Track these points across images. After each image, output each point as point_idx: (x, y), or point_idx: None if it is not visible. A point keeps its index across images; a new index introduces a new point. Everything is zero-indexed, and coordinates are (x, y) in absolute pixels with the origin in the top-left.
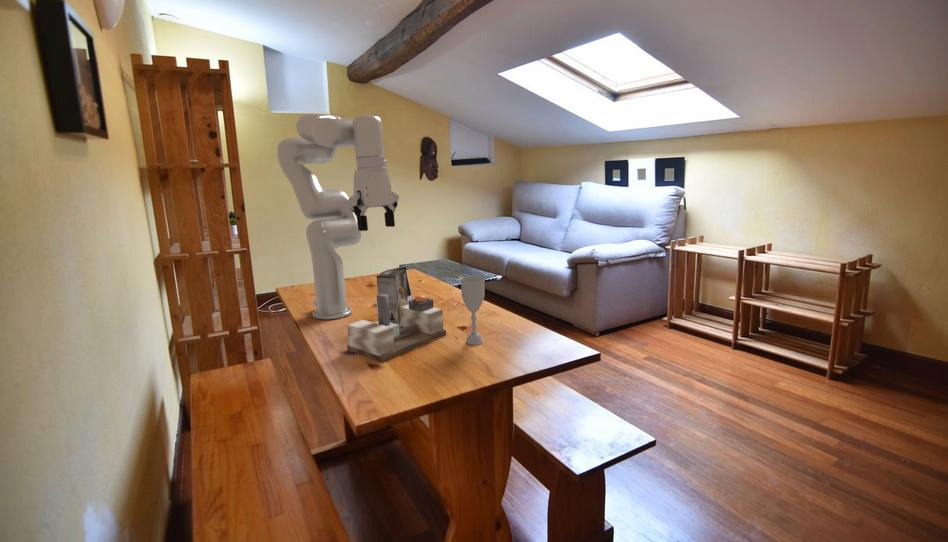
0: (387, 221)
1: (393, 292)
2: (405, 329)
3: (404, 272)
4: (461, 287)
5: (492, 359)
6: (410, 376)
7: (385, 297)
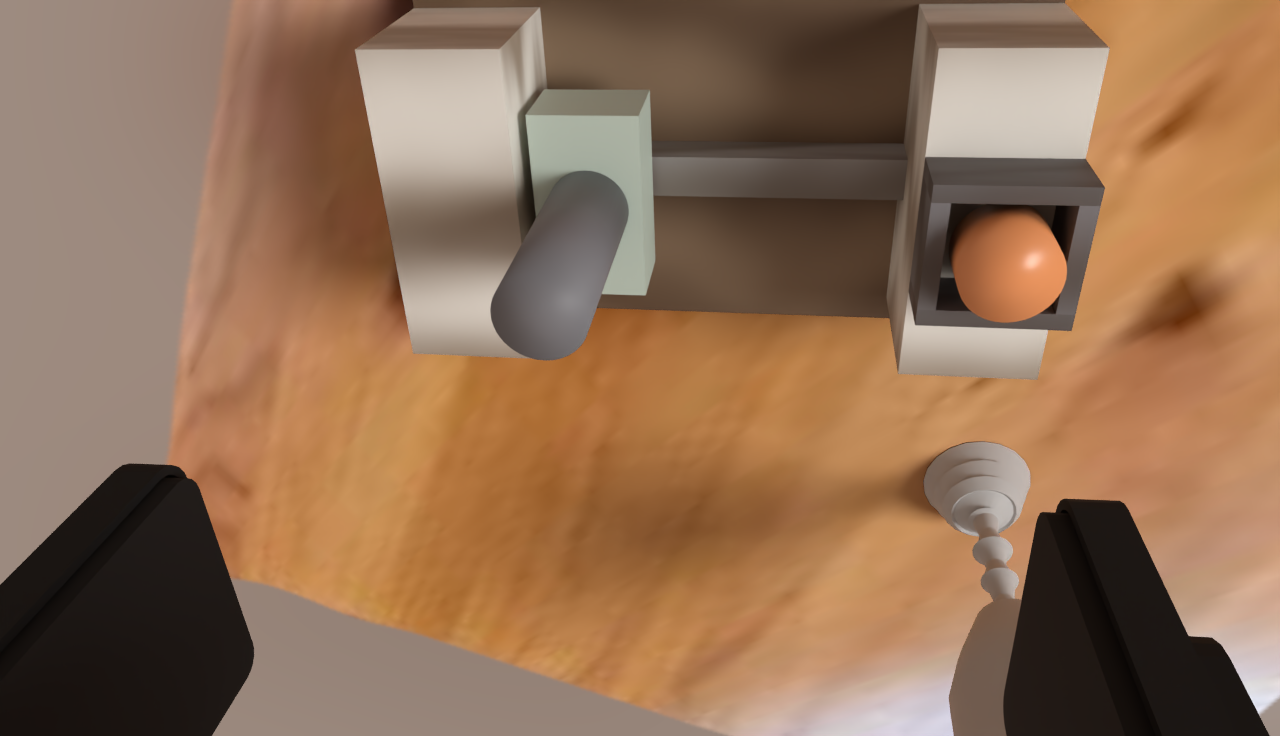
0: (1054, 678)
1: None
2: (776, 196)
3: None
4: (992, 712)
5: (817, 631)
6: (470, 478)
7: (538, 354)
